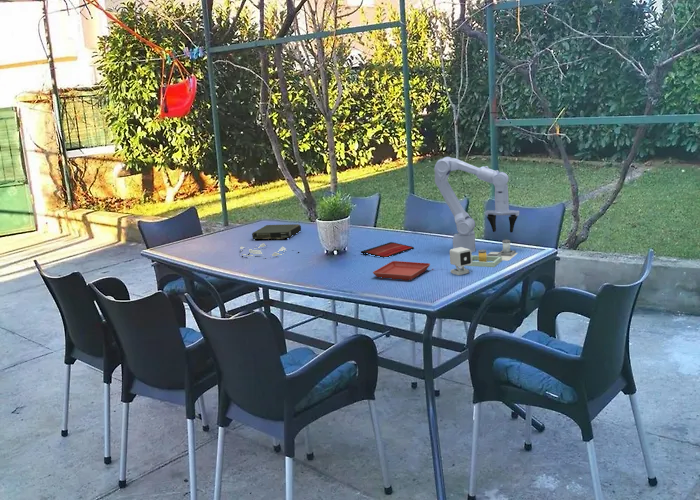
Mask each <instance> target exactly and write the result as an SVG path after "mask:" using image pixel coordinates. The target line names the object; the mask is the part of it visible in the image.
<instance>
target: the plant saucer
mask: <svg viewBox="0 0 700 500" xmlns="http://www.w3.org/2000/svg"><path fill="white" fill-rule="evenodd" d="M430 265H431V263H428V262H427V263H426V262H414V261H401V260H400V261H399V260H391V261H390V262H388V263H387V264H385V265H383V266H381V267H380V268H377V269H376V270H373V271H372V274H373V275H374V276H375V277H377V278H378V277H382V278H381V279H383V278H392V279H391V280H395V279H402V280H401V281H408V280H410V281H412V280H413V278H414V279H416V278H417V277H418V276H419V275H422V274H424V273H425V272H426V271H427V270H428V269H429V267H430Z"/></svg>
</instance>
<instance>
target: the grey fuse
mask: <svg viewBox="0 0 700 500" xmlns="http://www.w3.org/2000/svg"><path fill="white" fill-rule="evenodd" d="M501 242H502V250H503V253H511V251H510V250H511V240H510V239H503V240H502V241H501Z"/></svg>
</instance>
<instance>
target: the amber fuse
mask: <svg viewBox="0 0 700 500" xmlns="http://www.w3.org/2000/svg"><path fill="white" fill-rule="evenodd" d="M477 251H478V256H479V261H480V262H488V261H487V249H479V250H477Z"/></svg>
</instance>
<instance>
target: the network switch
mask: <svg viewBox="0 0 700 500" xmlns="http://www.w3.org/2000/svg"><path fill="white" fill-rule="evenodd" d="M299 231H301V232H302V226H301V225H300V224H298V223H297V224H296V223H295V224H291V223H290V224H289V223H288V224H266V225H264V226H263V227H261V228H259V229H257V230H256V231H253V232H252V233H251V235H252V236H251V237H252V240H253V239H268V240H269V239H271V240H272V239H274V240H275V239H276V240H286V239H285V238H289V237H291V236H292V235H294V234H296V233H298V232H299ZM298 234H299V233H298ZM296 235H297V234H296ZM294 236H295V235H294ZM291 238H292V237H291Z"/></svg>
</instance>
